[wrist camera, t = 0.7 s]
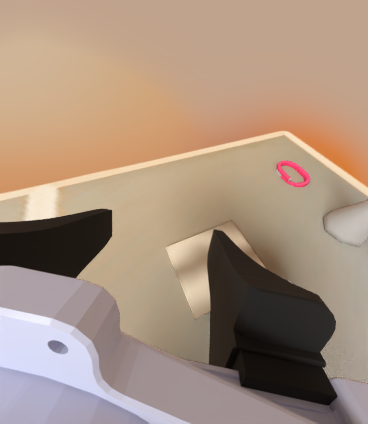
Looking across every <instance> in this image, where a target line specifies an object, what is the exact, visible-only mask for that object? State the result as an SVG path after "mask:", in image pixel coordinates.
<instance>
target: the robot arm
mask: <svg viewBox="0 0 368 424" xmlns="http://www.w3.org/2000/svg"><path fill="white" fill-rule="evenodd" d="M111 237H112V210H108V209H96V210H91V211H86V212H82V213H77V214H72V215H67V216H62V217H56V218H50V219H42V220H33V221H20V222H0V424H368V383H364V382H359V381H354V380H350V379H345V378H339V377H335V378H330V379H328V377H327V375H326V373H325V372H324V370H323V368H322V367H325V366H326V362H325V360H324V359H323V357H322V355H321V353H320V352H321V350H322V349H323V347H324V346H325V345H326V343H327V342H328V341H329V339H330V338H331V337H332V335H333V333H334V331H335V326H336V321H335V318H334V315H333V314H332V313H331V311H330V310H329V309H328V307H327V306H326V305H325V303H324V302H323V301H322V299H321V298H320V297H319V296H318V295H317V294H314V293H312V292H310V291H308V290H305V289H303V288H301V287H299V286H296V285H294V284H292V283H290V282H288V281H286V280H285V279H283V278H281V277H279V276H277V275H275V274H274V273H272V272H270V271H269V270H267V269H266V268H264V267H263V266H261V265H260V264H258V263H257V262H256V261H254V260H253V259H252V258H250V257H249V256H248V255H247V254H245V253H244V252H243V251H242V250H241V249H240V248H239V247H238V246H237V245H236V244H235V243H234V242H233V241H232V240H231V239H230V238H229V237H228V236H227V235H226V234H225V233H224V232H223V231H221V230H216V229H214V230H213V234H212V238H211V242H210V246H209V250H208V255H207V271H208V281H209V291H210V351H209V364H204V363H200V362H195V361H190V360H186V359H181V358H178V357H176V356H174V355H171V354H169V353H167V352H165V351H163V350H161V349H158V348H156V347H154V346H152V345H150V344H148V343H146V342H143V341H141V340H139V339H137V338H135V337H133V336H130V335H128V334H126V333H124V332H122V331H120V312H119V309H118V306H117V303H116V300H115V299H114V297H113V296H112V295H111V294H110V293H108V292H107V291H106V290H105V289H104V288H103V287H101V286H99V285H96V284H94V283H91V282H89V281H85V280H80V279H76V277H77V276H78V275H79V274H80V272H81V271H82V270H83V269H84V268H85V267H86V266H87V265H88V264H89V263H90V262H91V261H92V260H93V258H94V257H95V256H96V255H97V254H98V253H99V252H100V251H101V250H102V249H103V248H104V247H105V245H106V244H107V243H108V241H109V240H110V238H111Z"/></svg>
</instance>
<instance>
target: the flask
mask: <svg viewBox="0 0 368 424" xmlns="http://www.w3.org/2000/svg"><path fill="white" fill-rule="evenodd" d="M323 220H324V226H325V230H326V231H327V232H328V233H330V234H331V235H332V236H334V237H335V238H336V239H337V240H339V241H340V242H343V243H346V244H350V245H353V246H357V247H360V246H361V245H362V243H363V242H364V241H365V240H366V239H367V238H368V199H367V200H365V201H362V202H359V203H356V204H353V205H350V206H347V207H343V208H340V209H336V210H333V211H331V212H329V213H328V214H327V215H326V216H325V217H323Z"/></svg>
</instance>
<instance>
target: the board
mask: <svg viewBox="0 0 368 424" xmlns="http://www.w3.org/2000/svg"><path fill="white" fill-rule="evenodd" d="M214 229H216V230H221V231H223V232H224V233H225V234H226V235H227V236H228V237H229V238H230V239H231V240H232V241H233V242H234V243H235V244H236V245H237V246H238V247H239V248H240V249H241V250H242V251H243V252H244V253H245V254H247V255H248V256H249V257H250V258H252V259H253V260H254V261H256V262H257V263H258V264H260V265H261V266H263V267H264V268H266V267H265V266H264V265H263V263H262V262H261V261H260V259H259V258H258V256H257V255H256V254H255V252H254V251H253V249H252V248H251V247H250V245H249V244H248V243H247V241H246V240H245V238H244V237H243V236H242V234H241V233H240V231H239V230H238V229H237V227H236V226H235V225H234V223H233V222H232V221H230V222H228V223H225V224H223V225H220V226H218V227H215V228H213V229H210V230H208V231H205V232H203V233H200V234H198V235H195V236H193V237H190V238H188V239H185V240H183V241H180V242H178V243H175V244H173V245H170V246H168V247H166V250H167V253H168V255H169V258H170V260H171V262H172V265H173V267H174V270H175V272H176V274H177V277H178V279H179V282H180V284H181V286H182V289H183V291H184V294H185V296H186V299H187V301H188V303H189V306H190V308H191V311H192V313H193V315H194V318H195V319H197V318H199V317H200V316H202V315H204V314H206V313H208V312H210V291H209V281H208V271H207V255H208V250H209V246H210V242H211V238H212V234H213V230H214Z"/></svg>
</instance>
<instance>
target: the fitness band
mask: <svg viewBox="0 0 368 424" xmlns="http://www.w3.org/2000/svg"><path fill="white" fill-rule="evenodd" d="M282 165H286V166H290V167H292V168H294V169H295V170H296V171H297V172H298V173H299V174H300V175H301V176H302V177H303V178H304V182H302V183H294V182H292V181H291V180H292V179H291V178H290V177H289V176H288V175H287V174H286V173H285V172H284V171H283V169H282V168H281V166H282ZM276 172H277V173H278V174H279V175H280V177H281V178H282V179H283V180H284V181H285V182H287V183H288V184H290V185H292V186H295V187H304V186H306V185H307V184H308V183H309V182H310V176H309V175H308V173H307V172H306V171H305V170H303V169H302V168H301V167H300V166H299V165H297V164H296V163H293V162H291V161H281V162H279V163H278V165H277V170H276Z"/></svg>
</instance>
